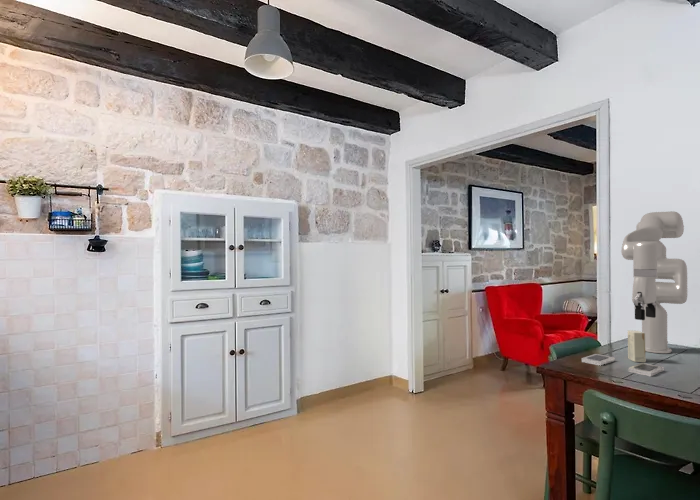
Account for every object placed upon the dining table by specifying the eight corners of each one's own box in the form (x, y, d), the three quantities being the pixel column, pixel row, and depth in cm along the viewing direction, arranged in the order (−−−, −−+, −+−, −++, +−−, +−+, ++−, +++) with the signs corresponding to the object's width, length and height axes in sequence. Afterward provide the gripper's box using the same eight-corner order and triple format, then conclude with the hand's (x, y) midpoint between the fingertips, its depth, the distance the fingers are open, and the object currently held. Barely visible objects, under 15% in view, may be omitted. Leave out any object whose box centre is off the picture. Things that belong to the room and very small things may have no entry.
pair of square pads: (595, 357, 183) (595, 353, 183) (663, 370, 162) (663, 366, 162) (581, 361, 176) (581, 357, 176) (650, 376, 156) (650, 371, 156)
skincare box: (646, 362, 174) (646, 333, 174) (634, 362, 175) (634, 332, 175) (638, 358, 180) (638, 330, 180) (627, 358, 181) (627, 329, 181)
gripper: (643, 272, 170) (643, 315, 170) (624, 274, 160) (624, 319, 160) (665, 273, 164) (665, 317, 164) (646, 275, 154) (646, 322, 154)
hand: (645, 318), depth 162 cm, fingers open, 9 cm apart
